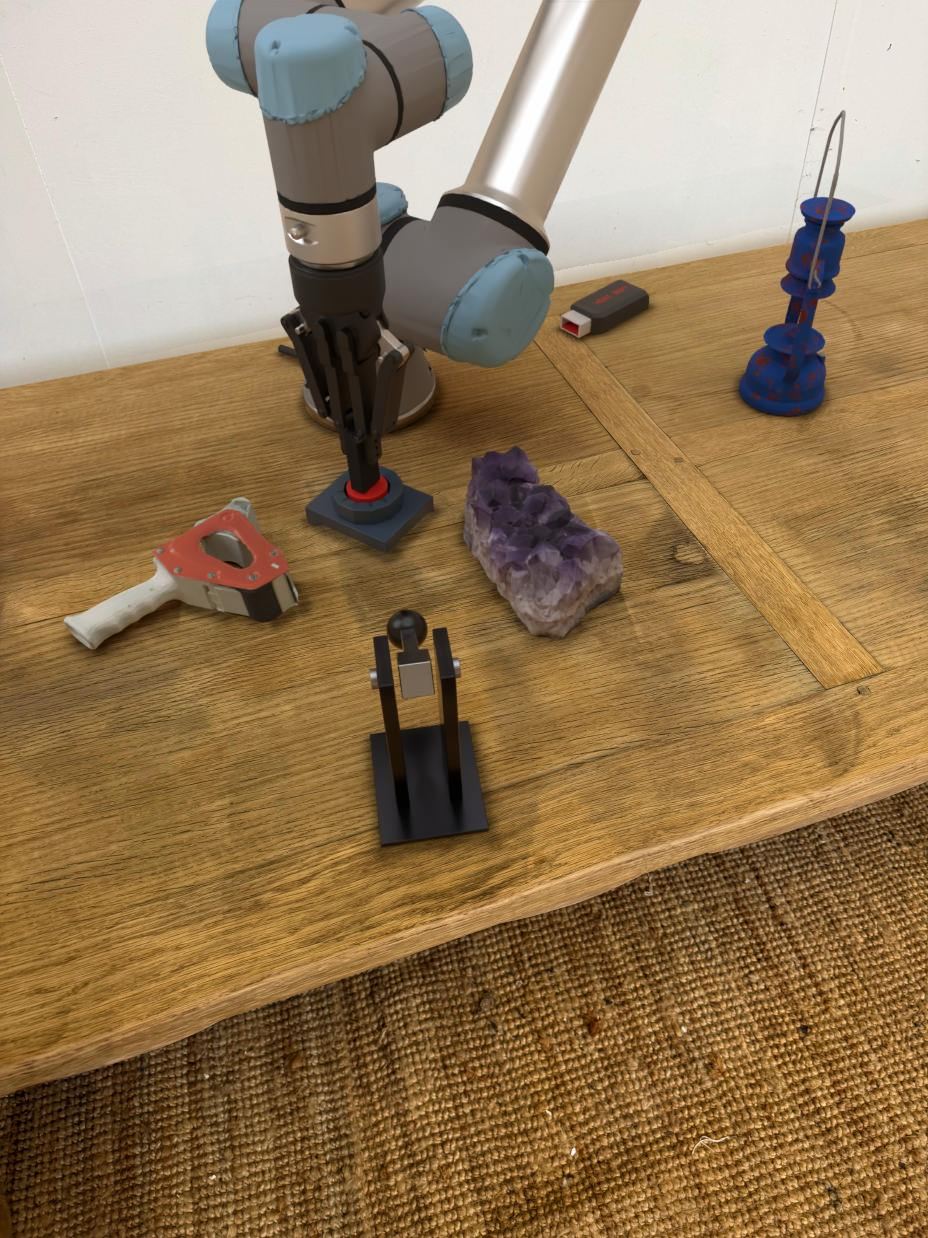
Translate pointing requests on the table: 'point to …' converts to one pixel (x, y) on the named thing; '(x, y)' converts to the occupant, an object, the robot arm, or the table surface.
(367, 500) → the button
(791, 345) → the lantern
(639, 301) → the usb drive
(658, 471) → the table surface
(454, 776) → the switch bracket
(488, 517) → the geode
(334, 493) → the button box
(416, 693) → the switch lever
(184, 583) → the tape dispenser
